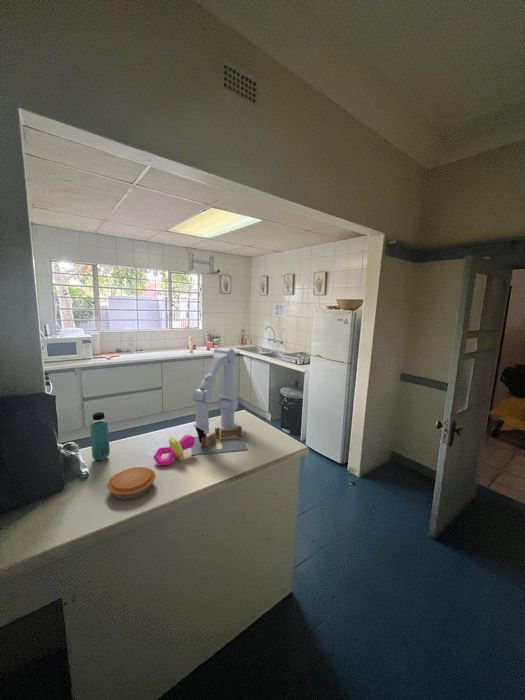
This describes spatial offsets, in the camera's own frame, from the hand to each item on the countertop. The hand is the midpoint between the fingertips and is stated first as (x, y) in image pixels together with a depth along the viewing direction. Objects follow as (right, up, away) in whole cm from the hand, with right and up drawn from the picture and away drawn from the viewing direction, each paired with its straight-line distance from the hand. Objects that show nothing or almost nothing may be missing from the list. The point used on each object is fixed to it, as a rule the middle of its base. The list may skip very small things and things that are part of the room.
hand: (202, 442), depth 130 cm
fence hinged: (+3, -1, +1) cm, 3 cm away
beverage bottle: (-39, -3, -14) cm, 42 cm away
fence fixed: (+11, -1, +9) cm, 14 cm away
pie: (-18, -6, -32) cm, 37 cm away
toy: (-9, -3, -11) cm, 15 cm away
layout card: (+7, -2, +3) cm, 8 cm away
